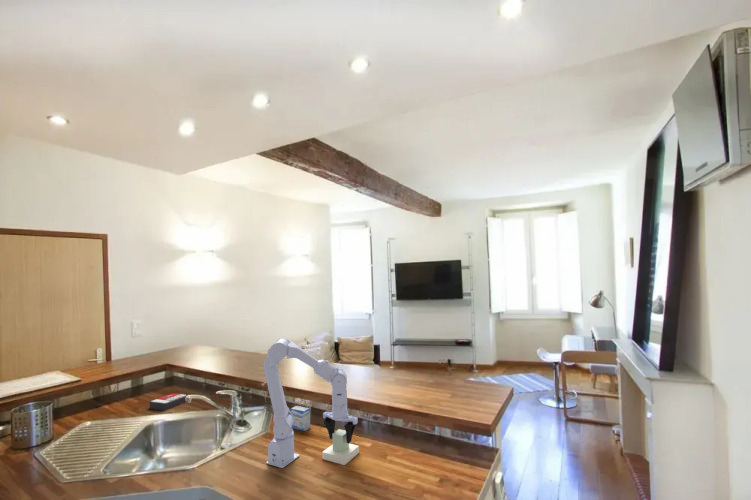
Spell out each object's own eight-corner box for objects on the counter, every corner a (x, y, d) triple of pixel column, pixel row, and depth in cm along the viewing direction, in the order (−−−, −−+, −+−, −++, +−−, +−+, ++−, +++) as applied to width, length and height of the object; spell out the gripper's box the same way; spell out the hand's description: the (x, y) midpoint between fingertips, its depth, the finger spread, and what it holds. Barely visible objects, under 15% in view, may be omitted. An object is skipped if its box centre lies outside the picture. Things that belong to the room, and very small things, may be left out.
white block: (344, 466, 131) (344, 458, 131) (322, 460, 136) (322, 452, 136) (359, 453, 140) (358, 445, 140) (337, 448, 145) (337, 440, 145)
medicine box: (290, 428, 163) (290, 408, 164) (296, 424, 167) (296, 405, 167) (304, 431, 159) (303, 411, 160) (310, 427, 163) (310, 407, 164)
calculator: (188, 394, 203) (164, 402, 189) (188, 402, 203) (164, 411, 189) (173, 392, 207) (149, 400, 193) (172, 400, 206) (148, 408, 192)
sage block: (342, 452, 135) (342, 436, 135) (332, 450, 137) (332, 433, 137) (349, 447, 139) (348, 431, 139) (339, 444, 141) (338, 429, 141)
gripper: (361, 402, 139) (362, 439, 138) (330, 397, 146) (330, 432, 145) (351, 409, 133) (352, 447, 132) (319, 403, 140) (320, 439, 139)
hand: (340, 440), depth 138 cm, fingers open, 7 cm apart
